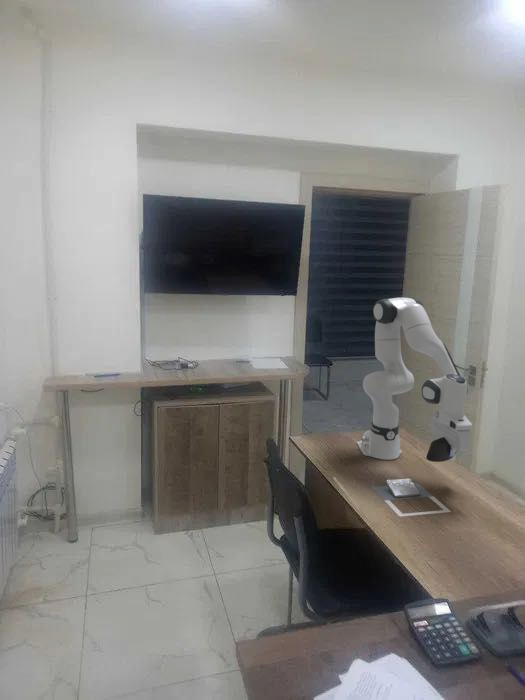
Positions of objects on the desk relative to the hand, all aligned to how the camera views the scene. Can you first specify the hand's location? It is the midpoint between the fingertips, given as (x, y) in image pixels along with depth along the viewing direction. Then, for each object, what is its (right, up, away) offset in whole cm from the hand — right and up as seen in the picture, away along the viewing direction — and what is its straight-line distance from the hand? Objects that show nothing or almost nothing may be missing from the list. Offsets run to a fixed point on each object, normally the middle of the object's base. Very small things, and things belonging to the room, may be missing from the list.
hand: (447, 453), depth 191 cm
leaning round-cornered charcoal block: (-1, -2, +4) cm, 5 cm away
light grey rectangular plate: (-17, -14, 0) cm, 22 cm away
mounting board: (-16, -17, -5) cm, 24 cm away
